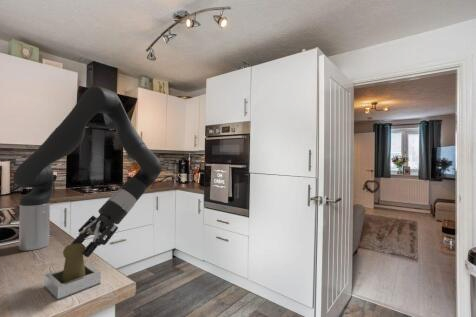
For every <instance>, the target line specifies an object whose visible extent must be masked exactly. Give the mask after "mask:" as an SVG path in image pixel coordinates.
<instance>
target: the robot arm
mask: <svg viewBox="0 0 476 317" xmlns="http://www.w3.org/2000/svg"><path fill="white" fill-rule="evenodd" d="M98 113H99V114H103V115H104V114H105V115H107V117H108V118H109V119H110V120H111V121H112V122H113V124H114V126H115V129H116V133H117V138H118V141H119V143H120V144H121V146H122V148H123V149H124V151H125V152H126V154H127V155H128V156H129V158H130V159H131V160H133V161H135V162H136V163H137V164H138V165H139V167H140V168H139V169H138V170H137V171H136V173H135V174H134V175H133V176H132V177H130V178H129V179H128V180H126V181H125V182H124V183H123V184H122V185H121V186H120V188H119V189H118V190H116V191H115V192H114V193H113V194H112V195H111V196H110V197H109V198H107V201H105V202H104V204H102V206H101V207H100V208H99V209H98V210H97V211H98V213H99V216H97V217H96V216H95V215H92V216H90V217H89V218H88V220H86V222H85V223H84V224H83V225H82V226H81V227H80V228H79V229H78V232H79V233H78V236H77V237H76V238H75V239H74V240H72V242H71V243H70V244H69V245H71V244H76V243H80V244H83V243H84V242H85V240H86V239H88V238H89V237H91V236H93V238H92V241H90V242H89V244H88V245H87V246H86V247H85V249H84V250H83V251H82V254H83V257H86V258H89V257H90V256H91V255H92V253H93V252H94V251H95V250H96V249H97V248H98V247H100V246H105V245H106V244H107V243H108V242H109V241H110V239H111V238H112V237H113V236H114V234H115V233H116V232H117V231H118V229H119V226H118V225H119V224H120V223H121V222H122V221H123V219H124V218H126V216H127V215H129V213H130V211H131V210H132V209H133V208H134V206H135V204H136V203H137V202H138V200H139V199H140V198H141V197H142V196H143V194H145V192H146V190H147V189H148V188H149V187H150V186H152V184H153V183H155V181H156V180H157V179H158V177H159V176H160V174H161V172H162V170H163V165H162V162H161V161H160V159H159V157H158V156H157V155H156V154H155V153H154V152H153V151H152V150H151V149H149V148H148V146H147V145H146V143H145V142H144V140H143V139H142V138H141V136H140V134H139V133H138V132H137V130H136V129H135V126H134V125H133V123H132V122H131V119H130V118H129V116H128V114H127V112H126V110H125V107H124V105H123V103H122V101H121V99H120V97H119V96H118V94H117V93H116V92H115V91H113V90H110V89H109V88H105V87H101V86H99V85H98V86H97V85H95V86H93V85H92V86H89V88H87V89H86V90H85V91H84V93H82V95H81V97H79V99H78V100H77V101H76V104H75V105H74V107H73V108H72V109H71V111H70V112H69V113H68V114H67V116H66V117H65V118H64V119H63V120H62V121H61V122H60V124H59V125H58V126H57V127H56V128H55V129H54V130H53V131H52V132H51V133H50V135H49V136H48V137H47V138H46V139H45V141H44V142H43V143H42V144H41V145H39V147H38V148H37V149H36V150H34V152H33V153H32V154H31V155H29V157H27V158H26V159H25V160H24V161H23V162H22V163H20V164H19V165H18V166H17V167H16V169H15V171H14V173H13V177H12V178H13V183H14V184H15V185H16V186H17V187H19V188H31V190H30V191H29V192H28V193H27V194H24V195H23V196H21V197H20V199H19V220H18V221H19V229H18V235H19V236H18V249H19V251H23V252H24V251H27V252H28V251H35V250H39V249H42V248H45V247H47V246H49V245H50V225H51V224H50V222H51V220H50V218H51V216H50V214H51V212H50V211H51V208H50V206H51V198H52V195H53V189H54V170H53V168H52V166H51V165H52V164H54V163H55V162H57V161H60V160H61V159H63V158H65V157H66V156H69V155H70V154H72V153H73V152H74V151H75V150H76V149H77V147H79V145H81V143H82V142H83V141H84V138H85V136H86V135H85V134H86V127H87V125H88V123H89V122H90V121H91V120H92V118H94V117H95V116H96V115H97V114H98Z"/></svg>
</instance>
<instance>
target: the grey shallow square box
mask: <svg viewBox="0 0 476 317" xmlns="http://www.w3.org/2000/svg"><path fill="white" fill-rule="evenodd" d="M84 267H85V274H86V276H83V277H80V278H77V279H74V280H72V281H69V282H66V283H63V284H61V282H62V276H63V271H64V268H62V269H60V270H56V271H53V272H48V273H47V274H44V275H43V276H44V279H43V280H44V283H43V287H44V289H46V290H47V292H49V293H50V295H51V296H52V297H53V298H55V300H56V301H57V302H58V301H60V300H63V299H66V298H69V297H70V296H73V295H75V294H78V293H81V292H83V291H86V290H88V289H91V288H93V287H96V286H99V285H101V280H102V279H101V275H102V272H101V271H100V270H98V269H97V268H95V267H94V266H92V265H90V264H88V263H87V262H85V261H84Z"/></svg>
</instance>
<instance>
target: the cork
mask: <svg viewBox="0 0 476 317" xmlns="http://www.w3.org/2000/svg"><path fill="white" fill-rule="evenodd" d="M70 244H71V243H70ZM70 244H68V245H67V246H65V247H64V249H63V252H62V254H63V257H64V258H65V259H64V266H63V269H64V271H63V276H62V282H61V284H63V283H66V282H69V281H72V280H74V279H77V278H80V277H83V276H86V274H85V267H84V263H85V261H84V255H83V254H82V251H83V250H84V249H85V248H86V247H85V244H83V243H82V244H80V243H76V244H71V245H70Z"/></svg>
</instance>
